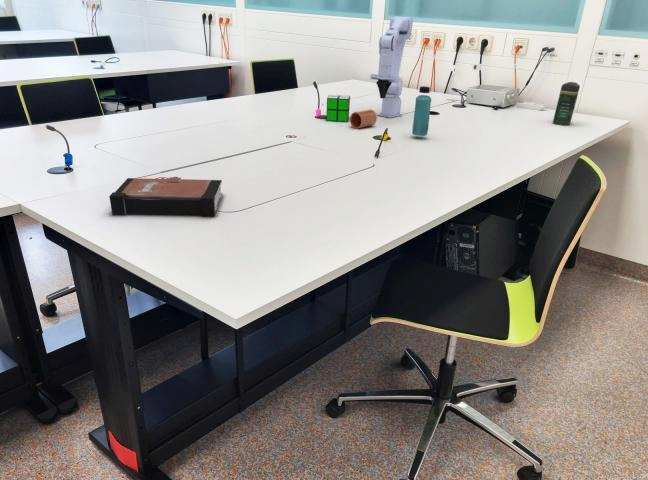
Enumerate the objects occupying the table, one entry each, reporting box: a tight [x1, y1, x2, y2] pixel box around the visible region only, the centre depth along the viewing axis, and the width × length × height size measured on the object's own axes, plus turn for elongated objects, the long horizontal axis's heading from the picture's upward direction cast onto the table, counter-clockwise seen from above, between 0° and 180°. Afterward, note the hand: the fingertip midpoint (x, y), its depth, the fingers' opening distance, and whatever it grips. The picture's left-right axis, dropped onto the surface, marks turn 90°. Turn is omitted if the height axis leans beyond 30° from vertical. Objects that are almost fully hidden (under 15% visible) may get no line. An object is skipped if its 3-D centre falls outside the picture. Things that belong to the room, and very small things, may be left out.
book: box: [108, 176, 224, 218], centre depth 146 cm, size 26×18×5 cm
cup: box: [349, 109, 377, 130], centre depth 238 cm, size 7×7×10 cm
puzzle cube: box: [325, 94, 351, 123], centre depth 250 cm, size 10×10×10 cm
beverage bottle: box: [411, 85, 432, 137], centre depth 220 cm, size 6×7×20 cm
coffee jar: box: [552, 81, 581, 126], centre depth 256 cm, size 10×8×19 cm
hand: (382, 98), depth 245 cm, fingers closed
